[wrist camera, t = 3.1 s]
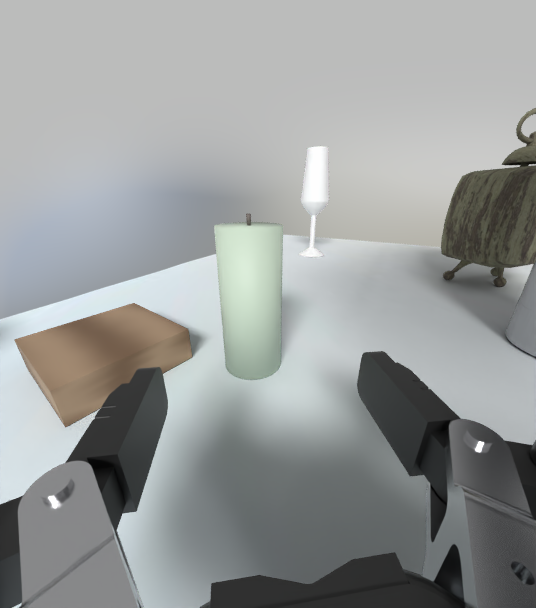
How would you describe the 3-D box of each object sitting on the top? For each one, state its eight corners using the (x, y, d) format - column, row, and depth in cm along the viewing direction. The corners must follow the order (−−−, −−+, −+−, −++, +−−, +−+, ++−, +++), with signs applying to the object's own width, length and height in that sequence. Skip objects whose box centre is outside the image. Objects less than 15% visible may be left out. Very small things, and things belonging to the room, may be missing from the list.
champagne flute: (294, 255, 65) (298, 147, 56) (302, 250, 71) (307, 151, 61) (320, 257, 63) (329, 144, 53) (326, 252, 68) (335, 149, 59)
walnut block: (139, 326, 30) (133, 303, 28) (192, 357, 24) (188, 329, 23) (27, 369, 22) (14, 339, 21) (65, 427, 17) (50, 391, 15)
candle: (250, 341, 26) (246, 211, 22) (291, 358, 24) (296, 213, 19) (214, 364, 23) (198, 214, 18) (256, 388, 20) (251, 217, 15)
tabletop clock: (493, 273, 50) (547, 119, 40) (549, 288, 41) (635, 99, 32) (430, 278, 47) (472, 113, 37) (477, 295, 38) (547, 89, 29)
